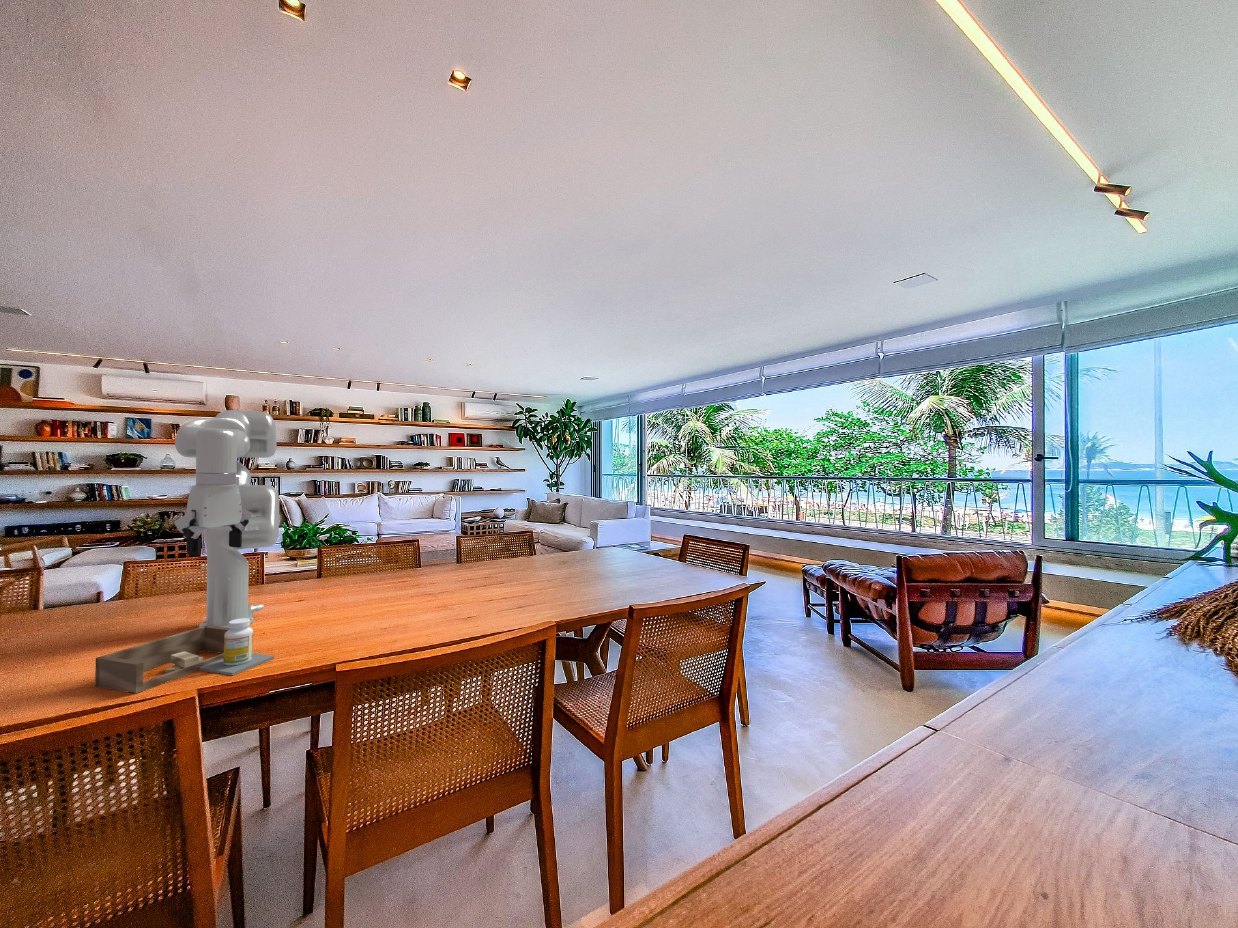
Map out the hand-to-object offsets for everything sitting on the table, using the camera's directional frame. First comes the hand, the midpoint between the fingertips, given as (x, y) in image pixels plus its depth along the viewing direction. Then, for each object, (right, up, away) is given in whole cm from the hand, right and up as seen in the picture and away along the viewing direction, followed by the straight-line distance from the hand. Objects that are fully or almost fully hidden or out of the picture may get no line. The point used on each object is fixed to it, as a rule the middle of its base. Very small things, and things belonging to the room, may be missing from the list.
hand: (215, 550), depth 117 cm
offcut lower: (-3, -27, -5) cm, 28 cm away
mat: (+7, -27, -2) cm, 28 cm away
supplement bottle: (+7, -26, -2) cm, 27 cm away
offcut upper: (-3, -25, -5) cm, 26 cm away
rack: (-5, -27, -5) cm, 27 cm away
